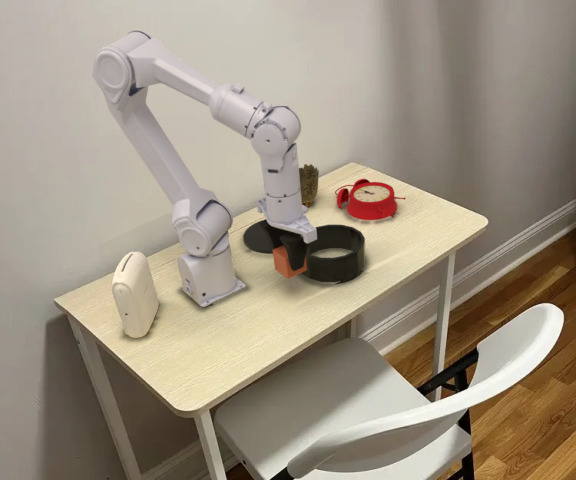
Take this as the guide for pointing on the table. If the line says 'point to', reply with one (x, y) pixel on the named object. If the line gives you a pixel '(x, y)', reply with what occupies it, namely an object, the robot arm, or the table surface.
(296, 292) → the table surface
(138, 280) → the photo printer
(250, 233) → the lid
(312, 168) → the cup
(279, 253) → the block
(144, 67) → the robot arm
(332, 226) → the pot
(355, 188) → the alarm clock
